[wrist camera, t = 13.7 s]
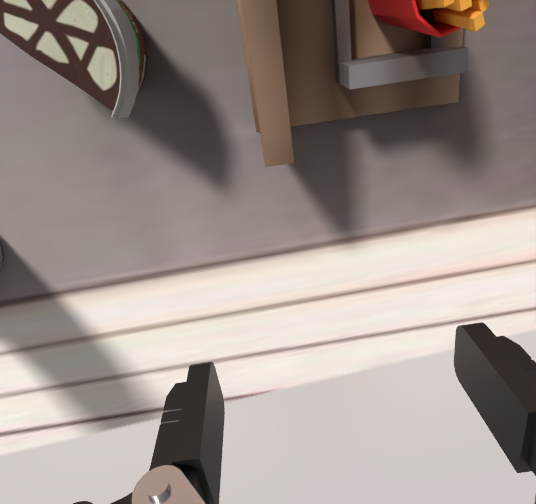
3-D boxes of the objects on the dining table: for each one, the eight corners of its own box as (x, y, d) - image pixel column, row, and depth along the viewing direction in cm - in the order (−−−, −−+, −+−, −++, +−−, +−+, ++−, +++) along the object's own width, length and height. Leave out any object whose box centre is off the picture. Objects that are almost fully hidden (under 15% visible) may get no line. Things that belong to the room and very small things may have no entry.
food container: (192, 36, 33) (168, 36, 24) (154, 101, 35) (119, 122, 26) (46, -81, 29) (-46, -132, 21) (13, -1, 32) (-83, -15, 23)
